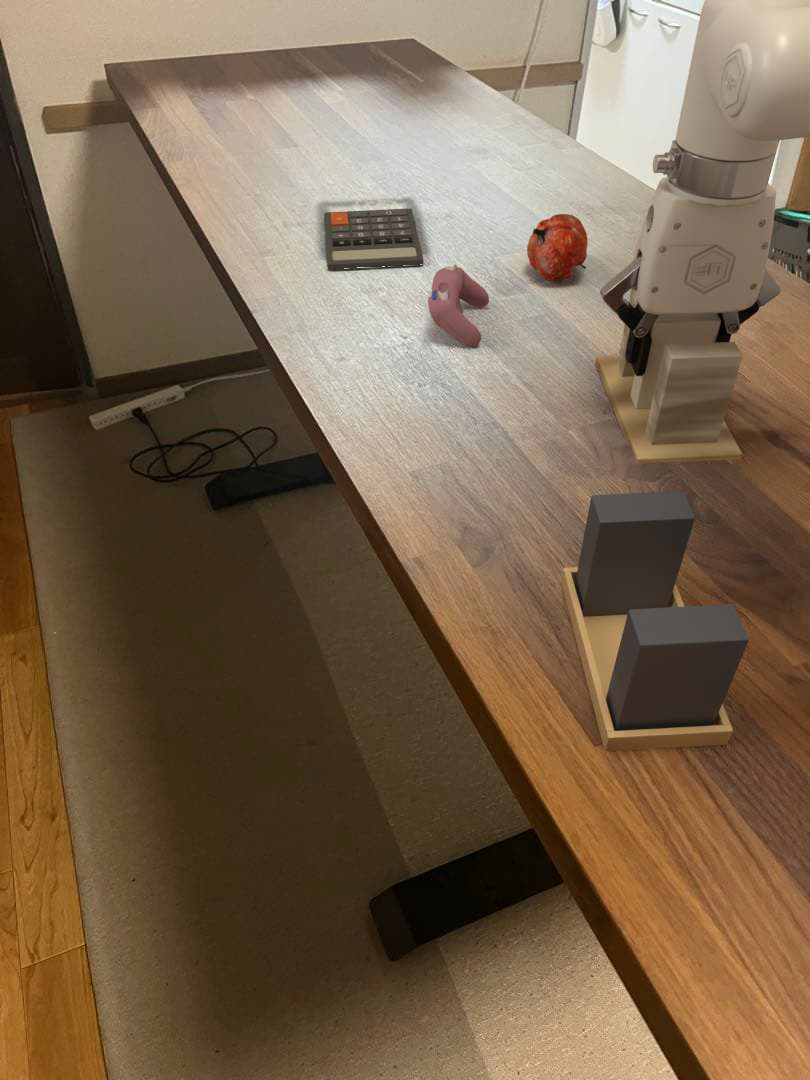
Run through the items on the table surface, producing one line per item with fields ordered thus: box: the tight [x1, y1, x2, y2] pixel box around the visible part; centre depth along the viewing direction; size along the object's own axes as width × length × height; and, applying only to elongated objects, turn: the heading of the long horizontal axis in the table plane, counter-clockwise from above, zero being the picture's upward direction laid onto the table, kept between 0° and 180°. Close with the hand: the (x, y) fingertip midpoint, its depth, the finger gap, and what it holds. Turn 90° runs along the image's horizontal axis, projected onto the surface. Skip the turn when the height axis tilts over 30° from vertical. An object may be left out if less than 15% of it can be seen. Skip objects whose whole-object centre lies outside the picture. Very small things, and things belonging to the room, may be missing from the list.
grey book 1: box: [575, 490, 696, 617], centre depth 61 cm, size 3×6×10 cm, turn 93°
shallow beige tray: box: [560, 566, 734, 752], centre depth 60 cm, size 15×8×2 cm, turn 3°
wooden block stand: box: [594, 288, 744, 465], centre depth 79 cm, size 17×9×10 cm, turn 3°
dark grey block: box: [606, 603, 750, 731], centre depth 54 cm, size 3×6×10 cm, turn 93°
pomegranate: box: [526, 213, 589, 283], centre depth 101 cm, size 7×7×10 cm
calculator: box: [323, 208, 424, 271], centre depth 109 cm, size 12×1×15 cm
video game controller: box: [427, 264, 490, 347], centre depth 93 cm, size 10×5×7 cm, turn 170°
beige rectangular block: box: [630, 313, 721, 408], centre depth 79 cm, size 2×6×9 cm, turn 93°
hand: (672, 364), depth 80 cm, fingers closed on beige rectangular block, 6 cm apart
